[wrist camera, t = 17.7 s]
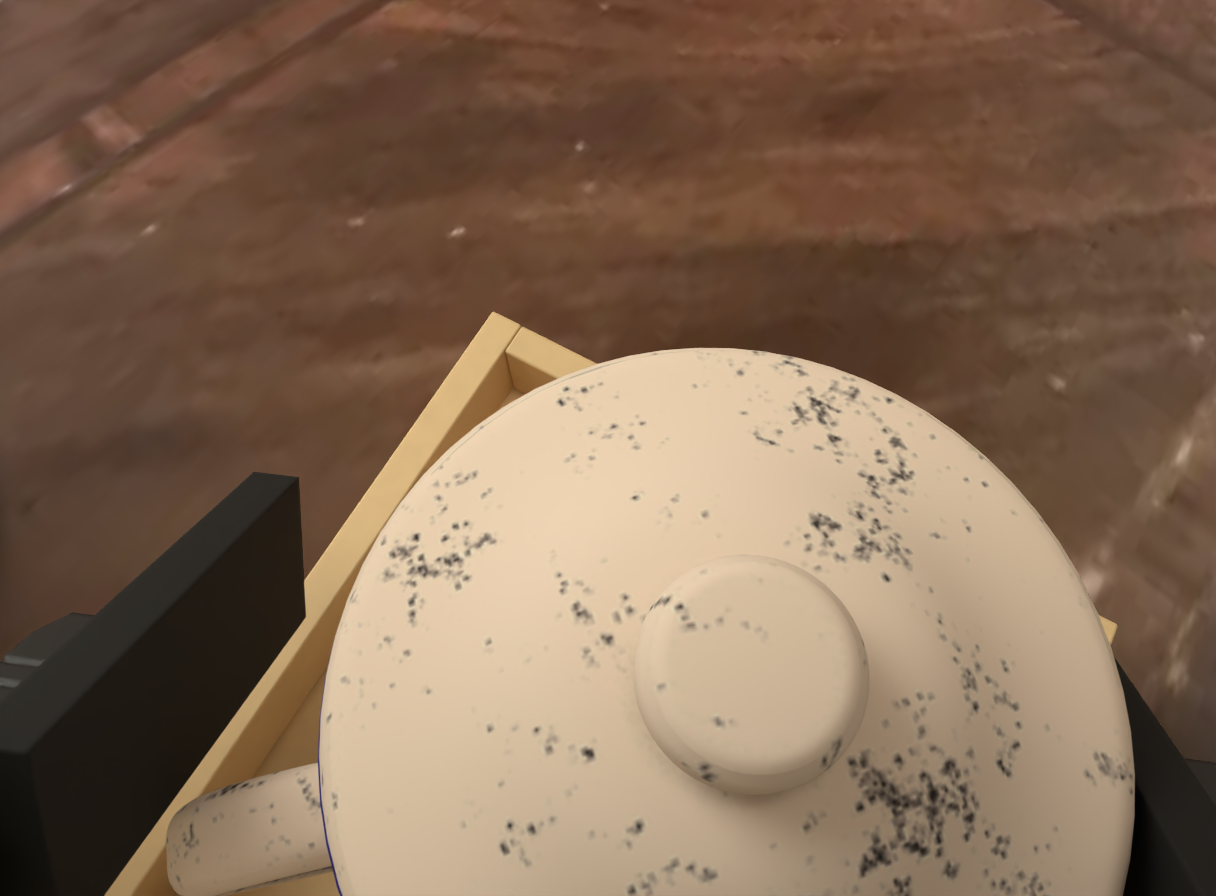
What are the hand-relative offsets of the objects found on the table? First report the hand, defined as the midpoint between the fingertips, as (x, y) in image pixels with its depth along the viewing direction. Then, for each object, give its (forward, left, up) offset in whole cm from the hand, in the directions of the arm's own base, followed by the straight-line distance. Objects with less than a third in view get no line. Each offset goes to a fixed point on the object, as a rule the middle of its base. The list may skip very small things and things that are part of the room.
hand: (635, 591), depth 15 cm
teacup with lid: (-1, +3, -5) cm, 5 cm away
